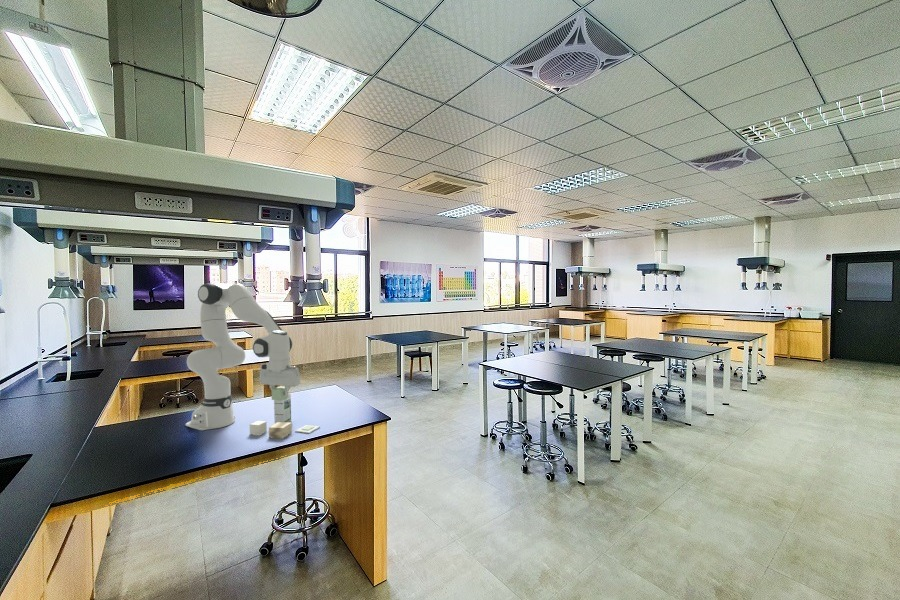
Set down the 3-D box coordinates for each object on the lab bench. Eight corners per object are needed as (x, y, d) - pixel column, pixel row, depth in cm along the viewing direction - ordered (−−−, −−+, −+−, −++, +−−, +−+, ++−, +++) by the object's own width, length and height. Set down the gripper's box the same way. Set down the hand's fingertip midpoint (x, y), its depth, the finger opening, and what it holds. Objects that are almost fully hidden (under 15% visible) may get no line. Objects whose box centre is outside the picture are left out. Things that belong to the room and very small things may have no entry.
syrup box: (284, 424, 182) (283, 396, 182) (274, 423, 183) (273, 395, 183) (291, 420, 188) (291, 393, 187) (281, 420, 189) (281, 392, 189)
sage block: (271, 399, 167) (271, 389, 167) (279, 396, 172) (279, 386, 172) (280, 400, 165) (280, 389, 165) (288, 397, 170) (288, 387, 170)
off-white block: (249, 434, 170) (249, 424, 170) (258, 430, 174) (258, 420, 174) (258, 435, 168) (258, 425, 168) (266, 431, 173) (266, 421, 173)
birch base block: (269, 438, 166) (268, 427, 166) (278, 432, 173) (277, 421, 173) (283, 438, 165) (283, 427, 165) (291, 432, 172) (291, 422, 172)
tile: (295, 431, 173) (295, 430, 173) (306, 425, 180) (306, 424, 180) (309, 433, 170) (309, 431, 170) (319, 427, 178) (319, 425, 178)
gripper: (303, 365, 168) (303, 394, 169) (267, 362, 174) (267, 391, 174) (293, 367, 162) (293, 398, 163) (257, 365, 168) (257, 394, 168)
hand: (280, 394), depth 169 cm, fingers closed on sage block, 5 cm apart
